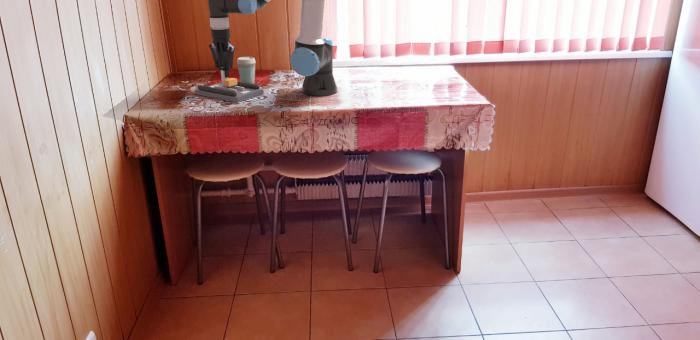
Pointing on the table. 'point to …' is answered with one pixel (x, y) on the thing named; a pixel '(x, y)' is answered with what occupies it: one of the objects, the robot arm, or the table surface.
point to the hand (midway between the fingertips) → (225, 84)
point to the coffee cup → (246, 69)
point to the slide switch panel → (242, 92)
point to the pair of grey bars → (228, 92)
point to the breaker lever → (230, 83)
